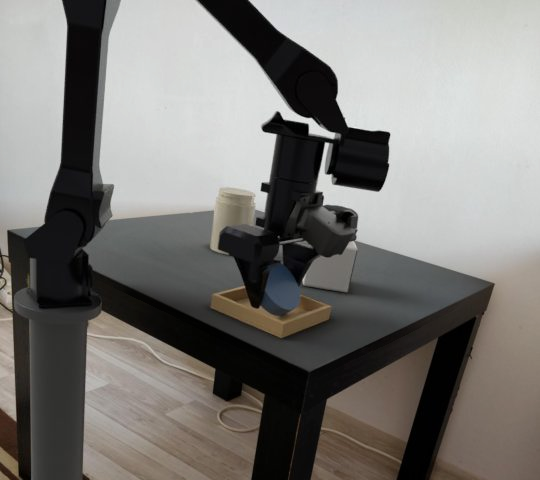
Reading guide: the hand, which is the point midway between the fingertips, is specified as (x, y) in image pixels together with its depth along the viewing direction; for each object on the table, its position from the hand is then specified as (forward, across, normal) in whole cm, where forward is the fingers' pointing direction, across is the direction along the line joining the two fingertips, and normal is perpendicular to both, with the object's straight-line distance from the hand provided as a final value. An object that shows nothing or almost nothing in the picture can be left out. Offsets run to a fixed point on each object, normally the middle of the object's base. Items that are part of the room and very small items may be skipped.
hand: (272, 302), depth 75 cm
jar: (+2, +19, +23) cm, 30 cm away
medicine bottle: (+2, +19, +4) cm, 20 cm away
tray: (+2, 0, 0) cm, 2 cm away
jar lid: (-2, 0, 0) cm, 2 cm away
